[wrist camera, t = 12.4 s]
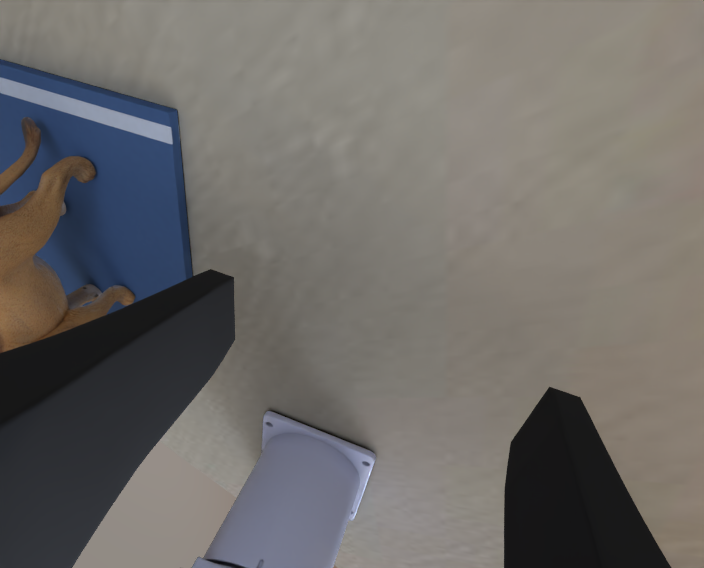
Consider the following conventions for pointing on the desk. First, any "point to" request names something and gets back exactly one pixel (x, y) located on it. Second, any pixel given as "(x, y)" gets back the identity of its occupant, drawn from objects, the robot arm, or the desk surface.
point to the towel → (102, 181)
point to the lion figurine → (30, 270)
